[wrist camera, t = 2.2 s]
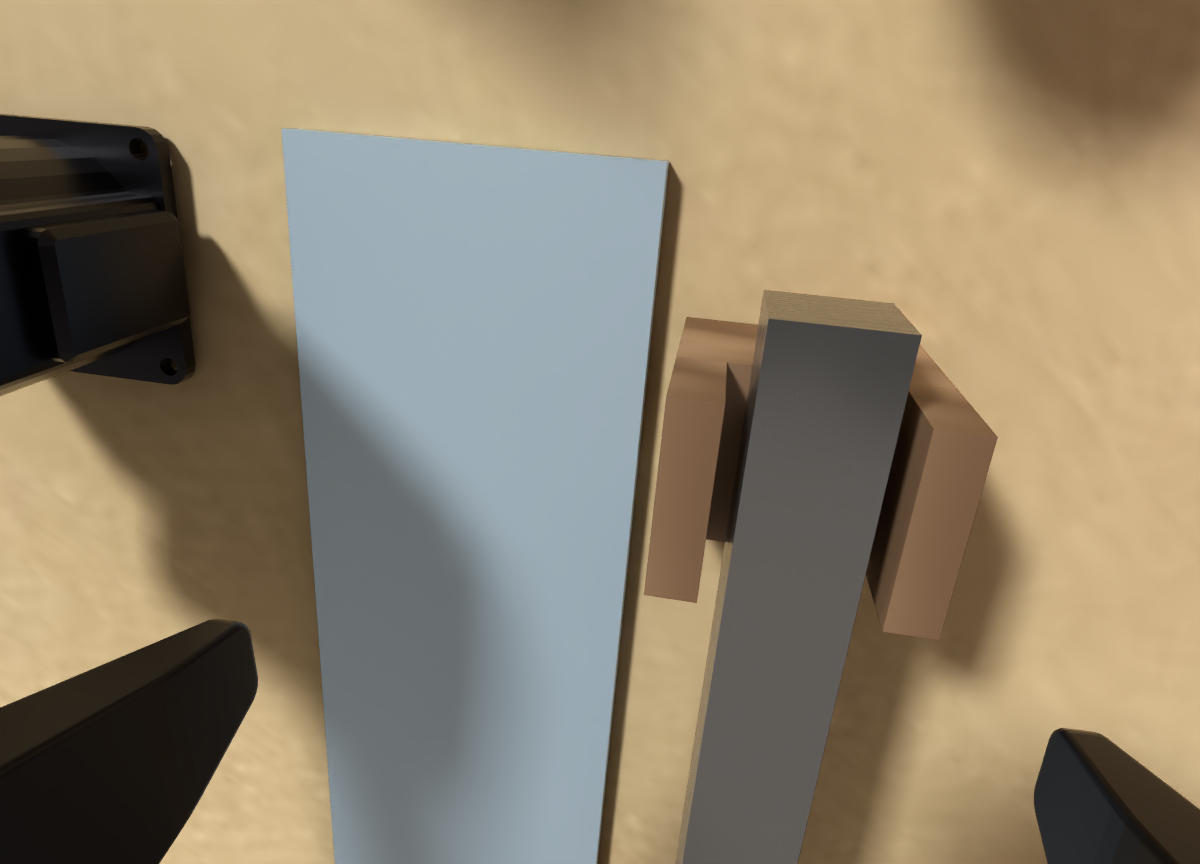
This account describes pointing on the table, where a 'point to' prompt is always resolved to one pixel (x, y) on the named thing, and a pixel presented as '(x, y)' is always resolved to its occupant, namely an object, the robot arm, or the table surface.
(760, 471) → the rail
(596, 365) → the mat
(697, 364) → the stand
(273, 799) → the table surface
